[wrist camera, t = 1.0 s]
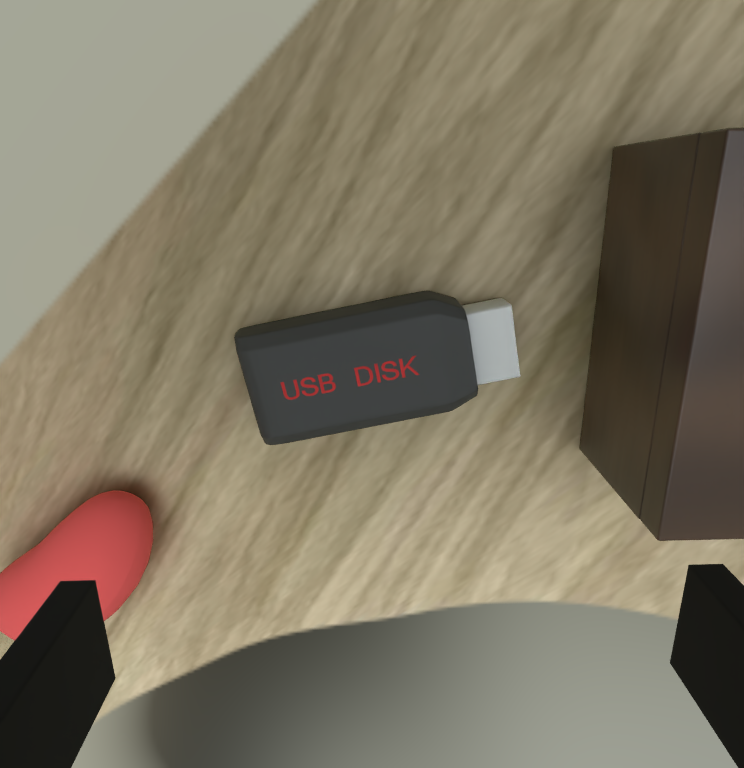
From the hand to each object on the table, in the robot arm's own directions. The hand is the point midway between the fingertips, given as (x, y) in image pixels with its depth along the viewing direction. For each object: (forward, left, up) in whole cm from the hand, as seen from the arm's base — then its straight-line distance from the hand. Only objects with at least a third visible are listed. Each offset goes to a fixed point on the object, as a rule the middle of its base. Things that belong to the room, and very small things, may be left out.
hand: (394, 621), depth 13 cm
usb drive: (-2, 0, -16) cm, 16 cm away
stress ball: (+8, -15, -16) cm, 23 cm away
